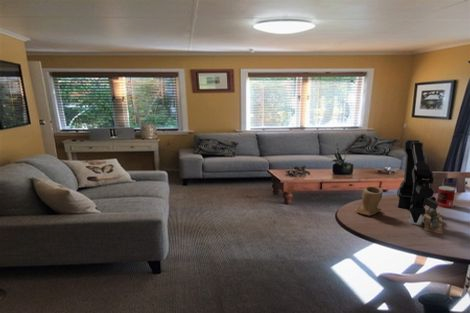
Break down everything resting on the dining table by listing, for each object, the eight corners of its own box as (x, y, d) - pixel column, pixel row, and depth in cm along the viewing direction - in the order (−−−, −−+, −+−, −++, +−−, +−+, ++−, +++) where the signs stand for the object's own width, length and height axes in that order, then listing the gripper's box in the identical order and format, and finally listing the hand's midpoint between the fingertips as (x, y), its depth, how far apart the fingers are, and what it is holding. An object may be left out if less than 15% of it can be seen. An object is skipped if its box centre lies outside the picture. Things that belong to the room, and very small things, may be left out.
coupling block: (408, 223, 144) (409, 214, 143) (408, 219, 148) (410, 210, 147) (421, 225, 141) (423, 216, 140) (421, 222, 145) (422, 213, 144)
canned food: (451, 204, 169) (454, 187, 167) (453, 209, 162) (456, 190, 160) (436, 202, 173) (438, 185, 171) (436, 206, 166) (439, 188, 164)
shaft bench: (424, 230, 136) (425, 220, 135) (423, 211, 158) (424, 202, 157) (443, 234, 132) (445, 223, 131) (439, 214, 154) (441, 205, 153)
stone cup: (372, 219, 149) (375, 192, 146) (352, 212, 158) (354, 186, 155) (387, 213, 157) (390, 187, 154) (367, 206, 167) (369, 182, 164)
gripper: (440, 200, 129) (435, 231, 132) (437, 189, 145) (433, 217, 148) (411, 196, 135) (407, 226, 138) (412, 186, 151) (408, 213, 154)
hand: (415, 220), depth 144 cm, fingers closed on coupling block, 5 cm apart
